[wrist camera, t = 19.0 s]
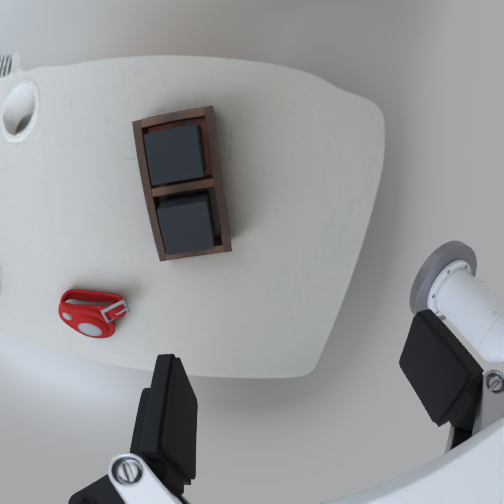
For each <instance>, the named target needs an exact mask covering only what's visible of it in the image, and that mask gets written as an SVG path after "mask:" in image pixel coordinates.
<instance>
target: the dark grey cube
mask: <svg viewBox="0 0 504 504" xmlns="http://www.w3.org/2000/svg"><path fill="white" fill-rule="evenodd" d="M157 214H158V218H159V223H160V227H161V232H162V236H163V240H164V245H165V249H166V253H167V255H173V254H180V253H187V252H194V251H201V250H208V249H214V237H215V230H214V224H213V218H212V211H211V205H210V198H209V191H202V192H196V193H189V194H183V195H177V196H172V197H166V198H165V199H164V201H163V202H162V203H161V205H160V206H159V207H158V209H157Z"/></svg>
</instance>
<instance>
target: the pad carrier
mask: <svg viewBox="0 0 504 504" xmlns="http://www.w3.org/2000/svg"><path fill="white" fill-rule="evenodd" d="M132 124H133V131H134V139H135V145H136V152H137V158H138V164H139V169H140V175H141V180H142V186H143V191H144V196H145V200H146V205H147V210H148V214H149V219H150V223H151V227H152V232H153V236H154V240H155V244H156V248H157V252H158V256H159V259H160V261H166V260H172V259H179V258H186V257H193V256H200V255H207V254H214V253H221V252H229V251H232V248H231V239H230V232H229V225H228V218H227V211H226V204H225V196H224V189H223V181H222V173H221V166H220V158H219V150H218V142H217V134H216V125H215V117H214V109H213V106H209V107H202V108H196V109H190V110H184V111H179V112H173V113H168V114H164V115H159V116H154V117H150V118H146V119H142V120H138V121H134V122H132ZM194 124H197V125H199V126H200V127H201V135H202V143H203V151H204V158H205V166H206V171H205V173H204V176H203V177H198V178H192V179H186V180H180V181H174V182H169V183H163V184H158V185H153V186H152V182H151V177H150V171H149V165H148V159H147V153H146V147H145V140H144V134H148V133H153V132H158V131H162V130H167V129H172V128H177V127H183V126H189V125H194ZM202 191H209V198H210V205H211V211H212V218H213V224H214V230H215V237H214V249H208V250H201V251H194V252H187V253H180V254H173V255H167V253H166V249H165V245H164V240H163V236H162V232H161V227H160V223H159V218H158V214H157V209H158V207H159V206H160V205H161V203H162V202H163V201H164V199H165V198H166V197H172V196H177V195H183V194H189V193H196V192H202Z"/></svg>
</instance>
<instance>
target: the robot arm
mask: <svg viewBox="0 0 504 504" xmlns="http://www.w3.org/2000/svg"><path fill="white" fill-rule="evenodd" d="M482 283H483V279H482V278H478V279H476V278H475V277H473V276H472V275H471V268H470V265H469V264H468V263H467V262H465V261H464V260H455V261H453V262H451V263H450V264H448V265H447V266H446V267H445V268H444V269H443V270H442V271H441V272H440V273H439V274H438V276H437V277H436V279H435V280H434V282H433V284H432V286H431V288H430V291H429V294H428V299H427V307H428V309H426V310H423V311H419V312H417V313H416V315H415V317H414V318H413V321H412V324H411V328H410V331H409V334H408V337H407V340H406V343H405V346H404V349H403V352H402V354H401V357H400V361H399V364H400V367H401V369H402V371H403V372H404V374H405V375H406V377H407V379H408V380H409V382H410V384H411V385H412V387H413V388H414V390H415V392H416V393H417V395H418V397H419V398H420V400H421V402H422V404H423V406H424V407H425V409H426V410H427V412H428V414H429V416H430V418H431V420H432V421H433V422H435V423H436V424H437V425H438V427H439V426H441V425H443V424H445V423H447V422H448V421H450V423H451V427H450V432H449V437H448V442H447V446H446V450H445V454H443V455H442V456H440V457H438V458H436V459H434V460H433V461H431V462H429V463H427V464H425V465H423V466H421V467H419V468H417V469H415V470H413V471H411V472H409V473H407V474H405V475H402V476H400V477H398V478H396V479H393V480H391V481H388V482H386V483H384V484H381V485H378V486H376V487H373V488H370V489H367V490H365V491H362V492H359V493H356V494H352V495H349V496H346V497H343V498H339V499H336V500H332V501H328V502H324V503H320V504H504V373H502V372H500V371H498V370H490V371H488V372H486V373H485V375H484V376H483V375H482V373H483V369H482V368H481V366H480V365H479V364H478V363H477V361H476V360H475V359H474V358H473V357H472V355H471V354H470V353H469V352H468V351H467V349H466V348H465V347H464V346H463V345H462V343H461V342H460V341H459V340H458V339H457V338H456V336H455V335H454V334H453V333H452V332H451V331H450V330H449V329H448V328H447V326H446V325H445V324H444V323H443V322H442V321H441V320H440V319H439V318H438V316H442V315H444V316H445V317H446V318H447V319H448V320H449V321H450V322H451V323H452V324H453V325H454V326H455V327H456V328H457V329H458V331H459V332H460V333H461V334H462V335H463V336H464V337H465V338H466V339H467V341H468V342H469V343H470V344H471V345H472V346H473V347H474V349H475V350H476V351H477V352H478V353H479V354H480V355H481V357H482V358H483V359H484V360H485V361H487V362H489V363H494V364H495V363H504V302H502V301H501V300H500V299H499V298H498V297H497V296H495V295H494V294H493V293H492V292H491V291H490V290H488V289H487V288H486V287H485V286H484V285H482ZM197 407H198V406H197V399H196V396H195V394H194V392H193V389H192V387H191V385H190V382H189V380H188V377H187V375H186V372H185V370H184V367H183V365H182V362H181V360H180V358H176V357H175V355H174V354H162V355H158V357H157V360H156V365H155V369H154V373H153V378H152V383H151V388H145V389H143V391H142V394H141V398H140V402H139V407H138V412H137V417H136V422H135V427H134V432H133V437H132V443H131V448H130V453H121V454H119V455H116V456H115V457H114V458H112V460H111V461H110V462H109V465H108V468H107V469H108V474H107V475H105V476H104V477H102V478H101V479H99V480H97V481H96V482H94V483H92V484H91V485H89V486H87V487H86V488H84V489H82V490H80V491H79V492H77V493H75V494H74V495H72V496H71V498H70V500H69V503H68V504H191V503H190V502H189V501H188V500H187V499H186V498H185V497H184V496H183V493H184V485H191V479H195V476H196V432H197Z"/></svg>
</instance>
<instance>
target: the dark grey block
mask: <svg viewBox="0 0 504 504" xmlns="http://www.w3.org/2000/svg"><path fill="white" fill-rule="evenodd" d="M144 140H145V147H146V153H147V159H148V165H149V171H150V177H151V182H152V186H153V185H158V184H163V183H169V182H174V181H180V180H186V179H192V178H198V177H203V176H204V173H205V171H206V166H205V158H204V151H203V143H202V135H201V127H200V126H199V125H197V124H194V125H189V126H183V127H177V128H172V129H167V130H162V131H158V132H153V133H148V134H144Z"/></svg>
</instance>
